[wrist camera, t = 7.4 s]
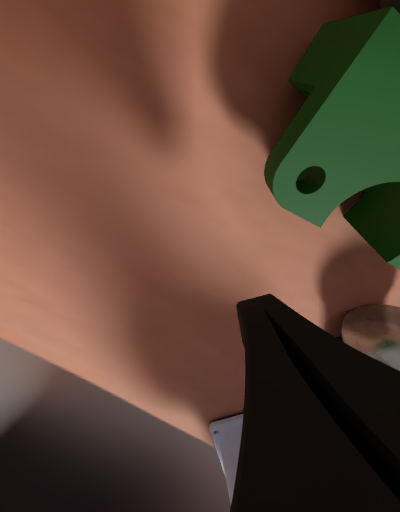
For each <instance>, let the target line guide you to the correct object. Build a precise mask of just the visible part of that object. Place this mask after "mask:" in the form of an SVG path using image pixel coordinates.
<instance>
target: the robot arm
mask: <svg viewBox="0 0 400 512" xmlns="http://www.w3.org/2000/svg"><path fill="white" fill-rule="evenodd" d="M236 307H237V313H238V319H239V325H240V330H241V336H242V341H243V344H244V347H245V365H246V376H245V400H244V413H243V414H241V415H237V416H233V417H230V418H226V419H223V420H219V421H215V422H212V423H211V424H210V425H209V428H210V432H211V435H212V438H213V441H214V444H215V447H216V451H217V454H218V456H219V459H220V463H221V465H222V469H223V472H224V475H225V476H226V481H227V486H228V492H229V497H230V502H231V509H230V512H400V371H399V370H397V369H395V368H392V367H390V366H388V365H386V364H384V363H382V362H380V361H378V360H376V359H374V358H372V357H370V356H368V355H366V354H364V353H362V352H360V351H359V350H357V349H355V348H353V347H351V346H350V345H348V344H346V343H344V342H343V341H341V340H339V339H338V338H336V337H334V336H332V335H331V334H329V333H328V332H326V331H324V330H323V329H321V328H320V327H318V326H316V325H315V324H313V323H312V322H310V321H309V320H307V319H306V318H304V317H303V316H301V315H300V314H298V313H297V312H295V311H294V310H293V309H291V308H290V307H288V306H287V305H286V304H284V303H283V302H281V301H280V300H279V299H277V298H276V297H274V296H273V295H271V294H267V295H263V296H259V297H255V298H252V299H248V300H244V301H240V302H238V303H237V305H236Z"/></svg>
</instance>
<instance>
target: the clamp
mask: <svg viewBox="0 0 400 512" xmlns="http://www.w3.org/2000/svg"><path fill="white" fill-rule="evenodd" d="M289 82H290V83H291V84H292V85H293V86H294V87H295V88H296V89H297V90H299V91H300V92H302V93H303V94H304V95H306V96H307V97H308V98H307V99H306V101H305V102H304V104H303V105H302V107H301V108H300V110H299V111H298V113H297V114H296V116H295V117H294V119H293V120H292V121H291V123H290V124H289V126H288V127H287V129H286V130H285V132H284V133H283V135H282V136H281V138H280V139H279V141H278V142H277V144H276V145H275V147H274V148H273V150H272V151H271V153H270V155H269V156H268V158H267V161H266V164H265V170H264V176H265V181H266V184H267V186H268V187H269V189H270V191H271V192H272V194H273V196H274V197H275V199H276V201H277V202H278V203H279V205H280V206H282V207H283V208H284V209H286V210H288V211H290V212H292V213H294V214H296V215H298V216H299V217H301V218H303V219H305V220H307V221H309V222H311V223H313V224H315V225H317V226H318V227H320V228H321V226H322V224H323V223H324V221H325V220H326V218H327V217H328V216H329V215H330V213H331V212H332V211H333V210H334V209H335V208H336V207H337V206H339V205H340V204H341V203H342V202H344V201H345V200H346V199H348V198H349V197H351V196H352V195H354V194H356V193H358V192H359V191H362V190H364V189H366V190H365V193H364V194H363V196H362V198H361V199H360V201H359V202H358V203H357V204H356V205H355V206H354V207H353V208H352V209H351V210H350V211H349V212H348V213H347V214H346V215H345V216H344V218H345V219H346V220H347V221H348V222H349V223H350V224H351V225H352V226H353V227H354V229H355V230H356V231H357V232H358V233H359V234H360V235H361V236H362V237H363V238H364V239H365V240H366V241H367V242H368V243H369V244H370V245H371V246H372V247H373V248H374V249H375V250H376V251H377V253H378V254H379V255H380V256H381V257H382V258H383V259H384V260H385V261H386V262H387V263H389V264H391V265H393V266H395V267H397V268H398V269H400V14H399V13H398V12H397V11H396V10H395V9H394V8H393V7H388V8H384V9H380V10H376V11H372V12H368V13H364V14H360V15H356V16H352V17H348V18H344V19H340V20H336V21H332V22H328V23H325V24H323V25H322V27H321V28H320V30H319V32H318V33H317V35H316V37H315V38H314V40H313V42H312V43H311V45H310V46H309V48H308V50H307V51H306V53H305V55H304V56H303V58H302V60H301V61H300V63H299V64H298V66H297V68H296V69H295V71H294V73H293V74H292V76H291V78H290V79H289Z"/></svg>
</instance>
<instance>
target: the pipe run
mask: <svg viewBox="0 0 400 512" xmlns="http://www.w3.org/2000/svg"><path fill="white" fill-rule="evenodd" d="M388 7H393V8H394V9H395V10H396V11H397V12H398V13H399V14H400V0H381V8H380V9H384V8H388ZM341 335H342V337H340V338H338V339H339V340H341V341H343V342H344V343H346V344H348V345H350V346H351V347H353V348H355V349H357V350H359V351H360V352H362V353H364V354H366V355H368V356H370V357H372V358H374V359H376V360H378V361H380V362H382V363H384V364H386V365H388V366H390V367H392V368H395V369H397V370H399V371H400V307H397V306H391V305H378V304H377V305H365V306H361V307H358V308H355V309H353V310H351V311H350V312H349V313H347V314H346V316H345V317H344V319H343V321H342V329H341Z"/></svg>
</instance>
